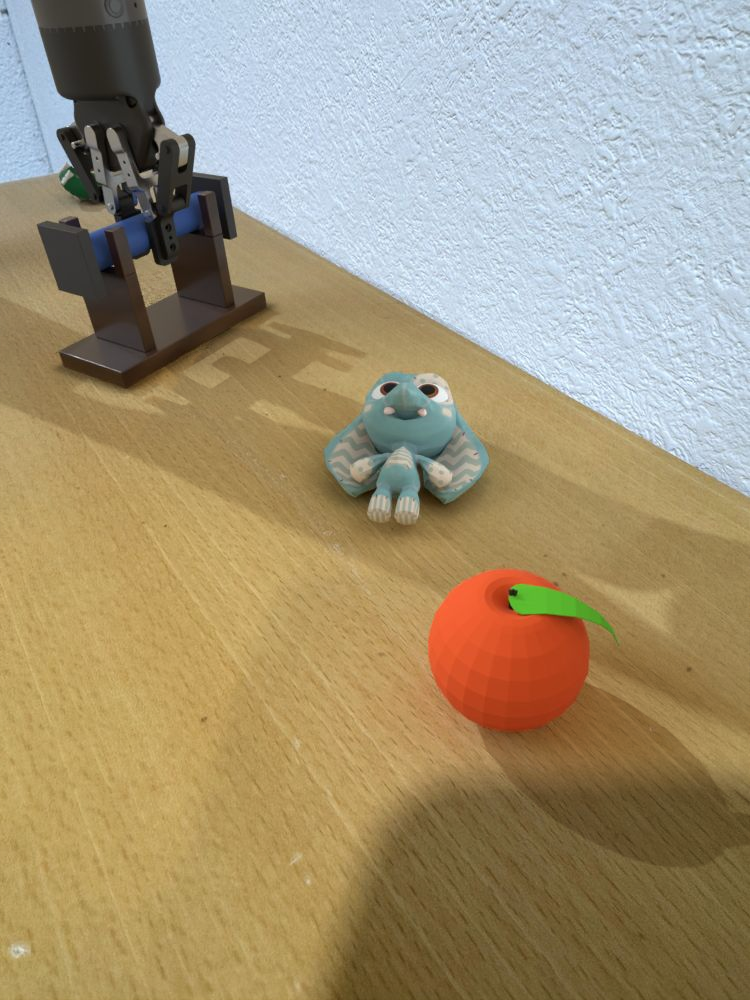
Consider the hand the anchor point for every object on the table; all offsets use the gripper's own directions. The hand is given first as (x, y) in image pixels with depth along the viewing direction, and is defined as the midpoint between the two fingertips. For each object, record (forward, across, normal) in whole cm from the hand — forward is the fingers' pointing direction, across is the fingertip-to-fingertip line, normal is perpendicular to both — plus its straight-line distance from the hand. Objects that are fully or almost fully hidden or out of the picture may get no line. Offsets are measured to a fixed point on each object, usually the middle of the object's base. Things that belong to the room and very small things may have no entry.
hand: (153, 258), depth 60 cm
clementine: (+7, -43, +20) cm, 48 cm away
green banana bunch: (+7, +45, -27) cm, 53 cm away
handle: (0, 0, 0) cm, 0 cm away
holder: (+7, 0, 0) cm, 7 cm away
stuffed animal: (+7, -30, +8) cm, 32 cm away
